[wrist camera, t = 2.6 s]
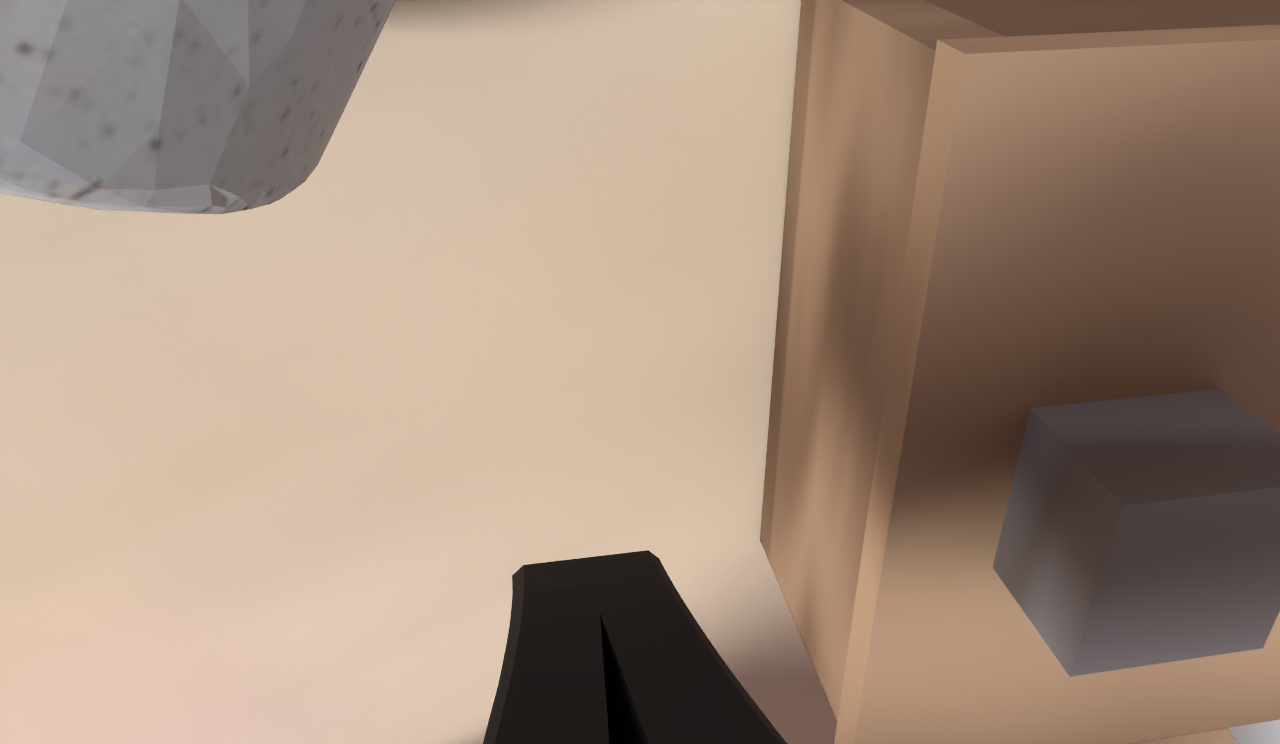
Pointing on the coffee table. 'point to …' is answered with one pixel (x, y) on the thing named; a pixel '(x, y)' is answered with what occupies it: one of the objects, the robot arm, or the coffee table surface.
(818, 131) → the keepsake box
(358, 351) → the coffee table surface
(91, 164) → the ceramic mug
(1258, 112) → the lid
